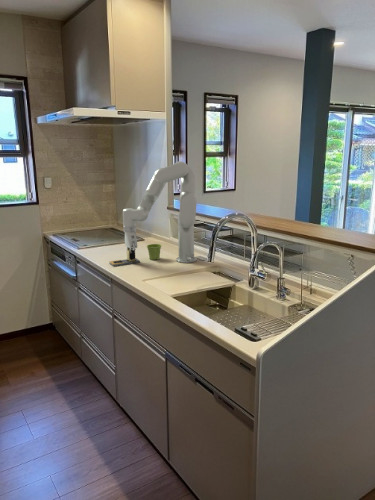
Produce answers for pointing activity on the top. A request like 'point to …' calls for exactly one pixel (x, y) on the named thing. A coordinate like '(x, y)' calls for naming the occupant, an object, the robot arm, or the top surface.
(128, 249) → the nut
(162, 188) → the robot arm
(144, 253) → the top surface
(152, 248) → the plant pot
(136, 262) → the rail
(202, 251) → the top surface
